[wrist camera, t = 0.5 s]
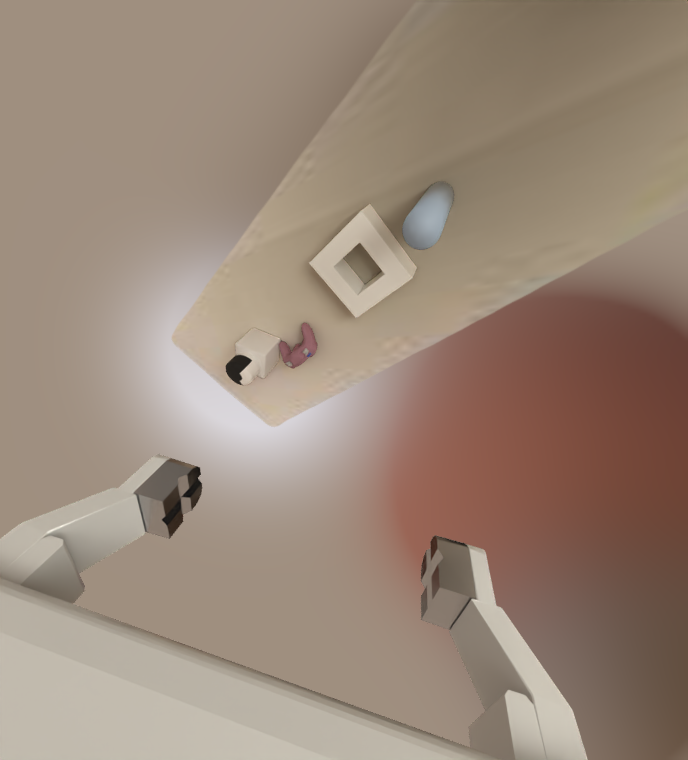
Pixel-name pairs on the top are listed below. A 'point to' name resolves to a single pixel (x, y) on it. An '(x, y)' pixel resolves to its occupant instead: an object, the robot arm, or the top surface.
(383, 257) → the socket block
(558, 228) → the top surface
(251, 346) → the medicine bottle
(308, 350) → the video game controller
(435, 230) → the peg
